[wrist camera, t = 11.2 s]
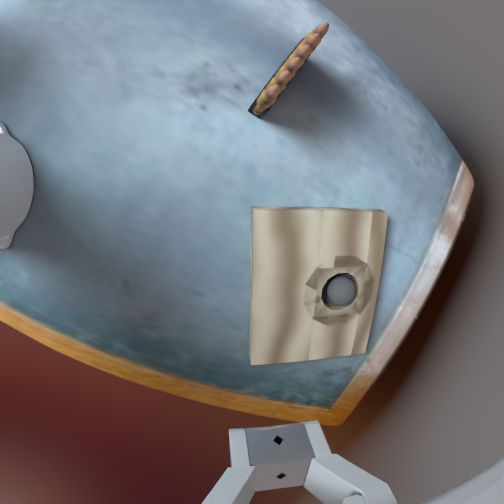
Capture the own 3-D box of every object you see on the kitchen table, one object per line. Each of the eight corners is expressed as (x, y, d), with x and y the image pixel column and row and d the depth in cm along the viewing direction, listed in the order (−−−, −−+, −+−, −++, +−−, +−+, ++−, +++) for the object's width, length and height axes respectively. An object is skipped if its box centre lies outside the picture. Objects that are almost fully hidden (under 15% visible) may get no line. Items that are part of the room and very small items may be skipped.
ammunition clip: (293, 49, 33) (324, 12, 21) (305, 58, 33) (340, 23, 22) (247, 110, 35) (262, 88, 23) (259, 119, 35) (280, 100, 24)
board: (249, 355, 44) (250, 365, 42) (251, 206, 38) (253, 209, 36) (358, 344, 47) (364, 352, 44) (379, 209, 40) (388, 212, 38)
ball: (344, 296, 44) (320, 299, 43) (347, 271, 43) (323, 273, 42) (358, 307, 40) (334, 312, 39) (363, 280, 39) (337, 284, 38)
